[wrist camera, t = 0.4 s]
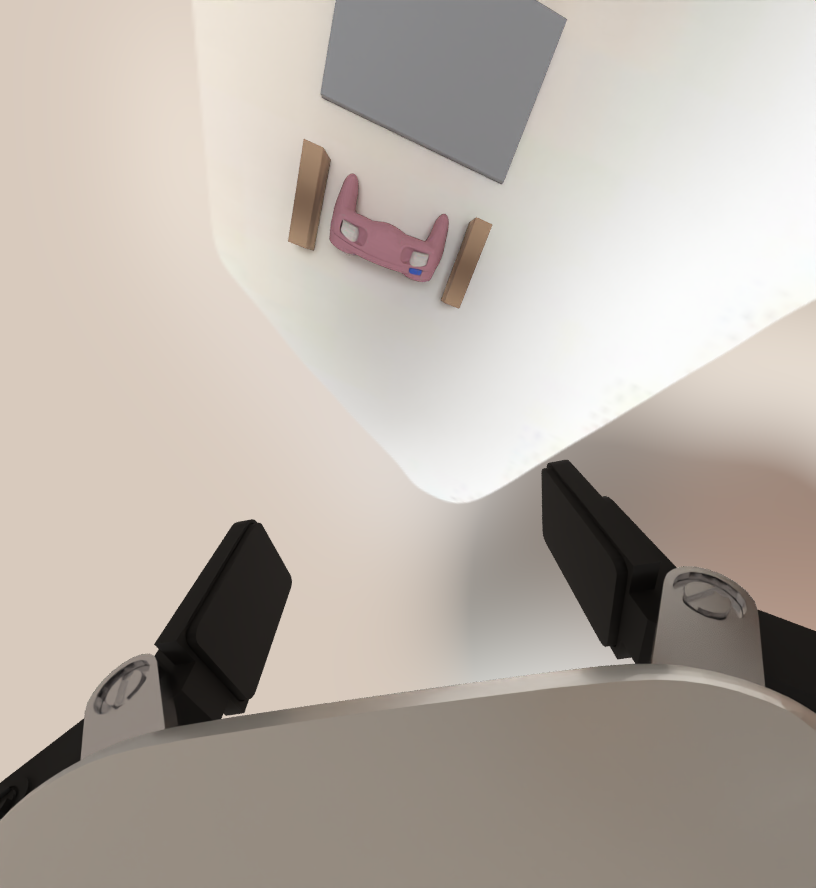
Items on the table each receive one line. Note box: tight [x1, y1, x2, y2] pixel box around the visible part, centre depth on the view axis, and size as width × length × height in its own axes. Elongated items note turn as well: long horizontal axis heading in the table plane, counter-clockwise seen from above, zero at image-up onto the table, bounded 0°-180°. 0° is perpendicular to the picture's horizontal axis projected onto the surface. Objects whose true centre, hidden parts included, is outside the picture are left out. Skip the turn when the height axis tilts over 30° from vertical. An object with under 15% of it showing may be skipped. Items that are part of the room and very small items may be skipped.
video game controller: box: [330, 174, 449, 282], centre depth 28 cm, size 10×5×7 cm, turn 71°
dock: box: [288, 139, 492, 308], centre depth 29 cm, size 7×16×3 cm, turn 70°
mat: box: [321, 0, 567, 184], centre depth 24 cm, size 10×16×1 cm, turn 71°
